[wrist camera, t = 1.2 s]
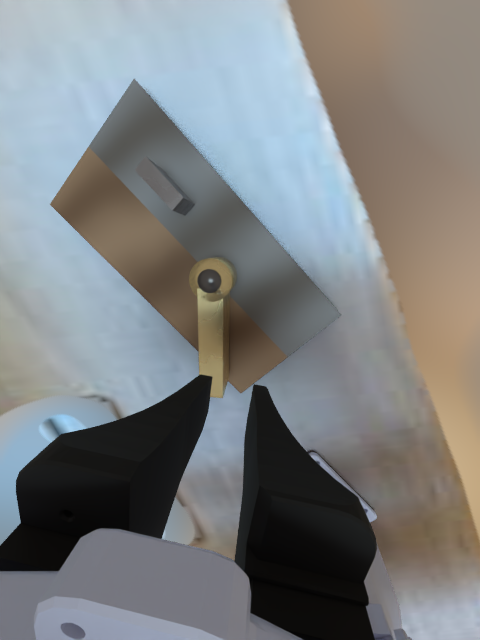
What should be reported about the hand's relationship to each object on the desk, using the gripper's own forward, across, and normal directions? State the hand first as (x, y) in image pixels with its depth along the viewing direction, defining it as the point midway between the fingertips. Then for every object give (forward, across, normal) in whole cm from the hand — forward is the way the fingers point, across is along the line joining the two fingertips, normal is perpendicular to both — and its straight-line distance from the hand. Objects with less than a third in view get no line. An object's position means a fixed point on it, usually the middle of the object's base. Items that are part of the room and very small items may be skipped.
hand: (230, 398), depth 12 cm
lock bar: (+7, +2, -2) cm, 7 cm away
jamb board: (+8, +4, -6) cm, 11 cm away
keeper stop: (+7, +6, -10) cm, 14 cm away
